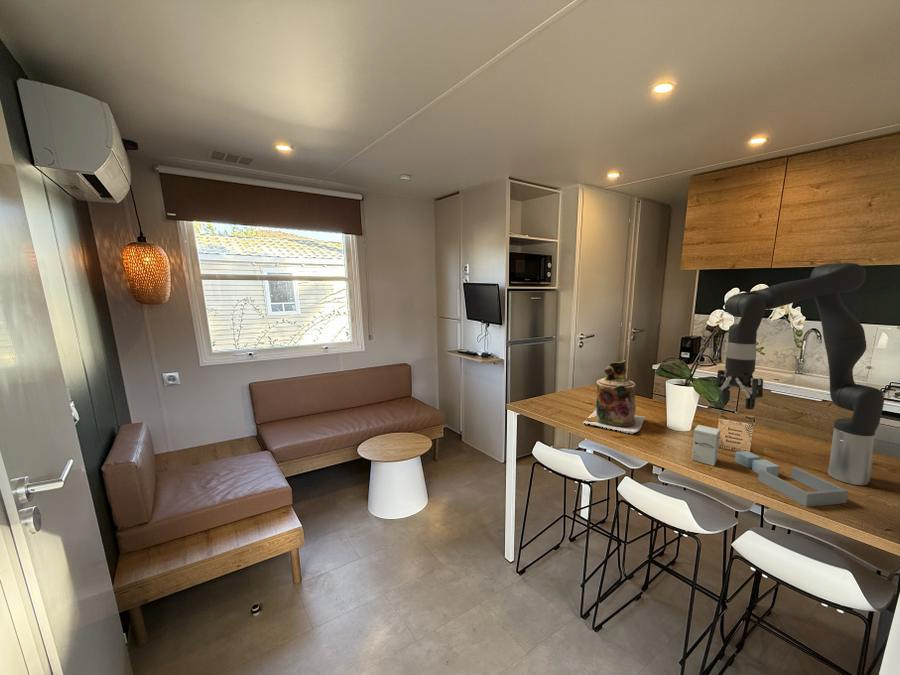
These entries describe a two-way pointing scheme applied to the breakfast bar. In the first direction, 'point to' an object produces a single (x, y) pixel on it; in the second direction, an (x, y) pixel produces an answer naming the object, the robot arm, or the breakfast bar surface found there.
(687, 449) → the breakfast bar surface
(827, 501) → the tray
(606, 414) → the cookie jar
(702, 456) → the supplement box
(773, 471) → the tile
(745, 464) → the tile
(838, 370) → the robot arm
